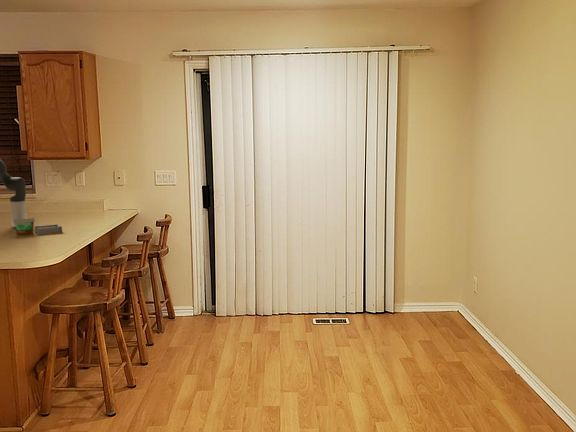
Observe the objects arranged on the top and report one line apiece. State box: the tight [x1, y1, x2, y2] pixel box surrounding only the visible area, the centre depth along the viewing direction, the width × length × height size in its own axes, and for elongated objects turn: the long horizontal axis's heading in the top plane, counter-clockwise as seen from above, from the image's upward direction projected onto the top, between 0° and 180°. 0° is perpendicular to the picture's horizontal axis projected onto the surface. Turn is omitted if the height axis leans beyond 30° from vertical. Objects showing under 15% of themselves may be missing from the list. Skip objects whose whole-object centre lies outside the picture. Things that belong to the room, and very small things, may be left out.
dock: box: [34, 223, 63, 236], centre depth 376 cm, size 12×14×4 cm
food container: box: [14, 217, 36, 236], centre depth 369 cm, size 12×6×10 cm, turn 101°
